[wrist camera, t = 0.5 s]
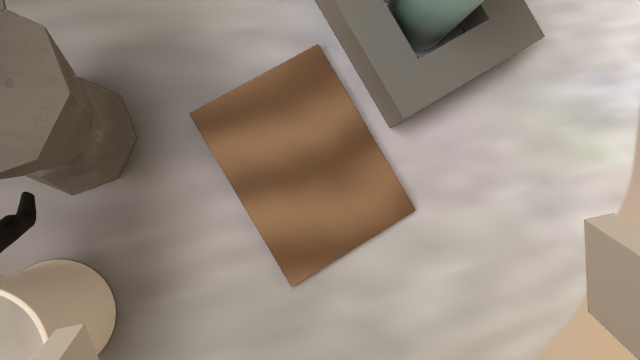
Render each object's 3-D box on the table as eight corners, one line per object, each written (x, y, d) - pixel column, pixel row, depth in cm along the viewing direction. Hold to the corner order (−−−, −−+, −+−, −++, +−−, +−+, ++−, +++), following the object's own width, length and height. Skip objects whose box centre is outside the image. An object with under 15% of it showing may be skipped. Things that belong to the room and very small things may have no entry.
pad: (190, 116, 40) (189, 113, 39) (316, 47, 42) (318, 43, 41) (290, 285, 40) (291, 287, 39) (411, 210, 42) (415, 210, 41)
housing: (306, -14, 42) (312, -38, 38) (440, -83, 44) (458, -112, 40) (389, 127, 42) (404, 119, 38) (518, 52, 44) (544, 36, 40)
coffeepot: (16, 50, 38) (-186, -89, 21) (141, 57, 40) (52, -69, 22) (5, 248, 37) (-218, 281, 20) (134, 249, 39) (34, 280, 21)
